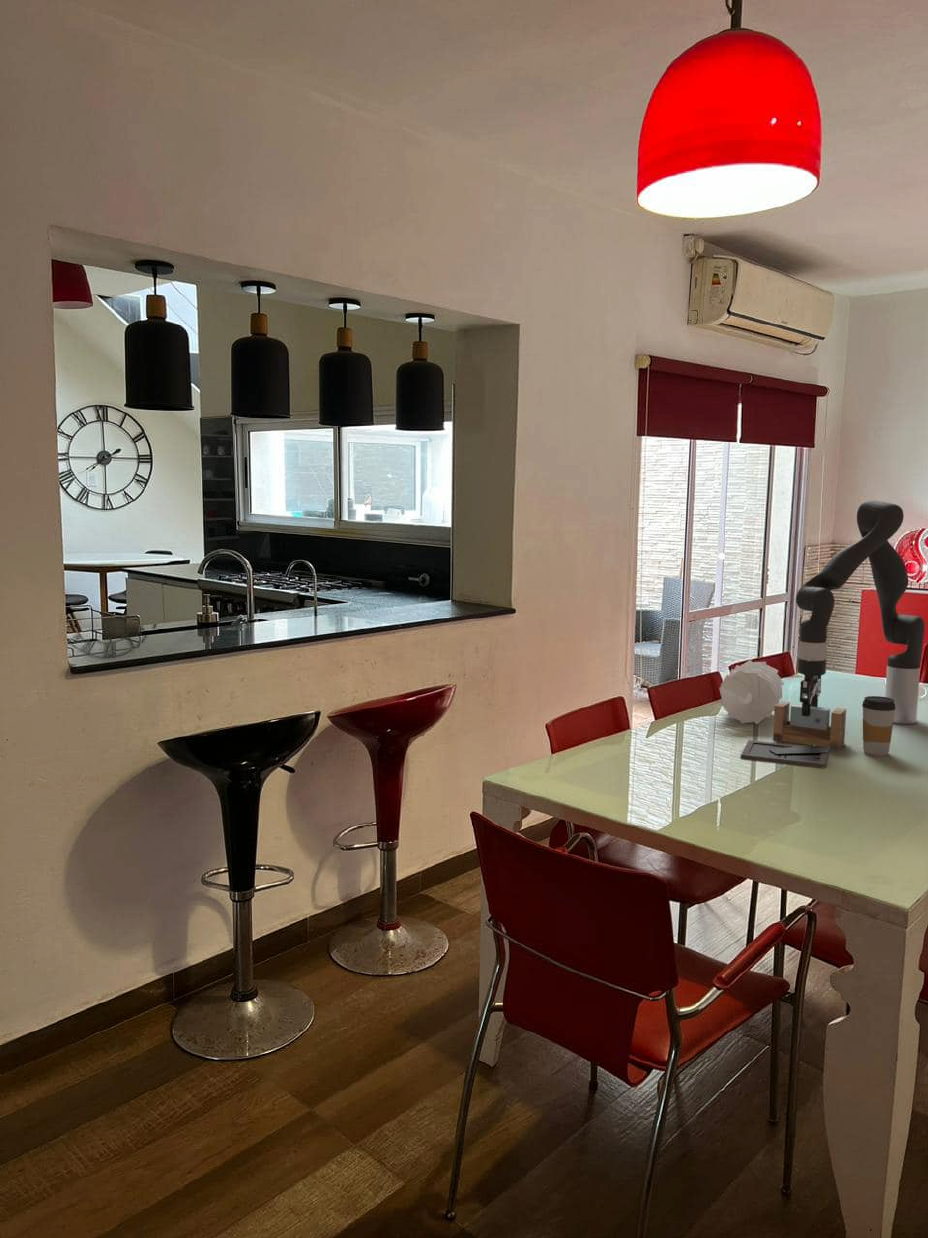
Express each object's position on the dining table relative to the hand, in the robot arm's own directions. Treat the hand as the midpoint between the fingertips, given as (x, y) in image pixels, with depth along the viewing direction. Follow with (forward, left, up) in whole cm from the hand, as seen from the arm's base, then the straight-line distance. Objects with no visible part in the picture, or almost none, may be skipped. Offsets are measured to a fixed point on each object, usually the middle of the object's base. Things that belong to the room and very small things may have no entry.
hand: (809, 712), depth 258 cm
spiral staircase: (-19, -22, -9) cm, 30 cm away
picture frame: (+18, -2, -9) cm, 20 cm away
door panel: (0, 0, -6) cm, 6 cm away
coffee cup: (+2, +18, -9) cm, 20 cm away
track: (0, 0, -8) cm, 8 cm away
